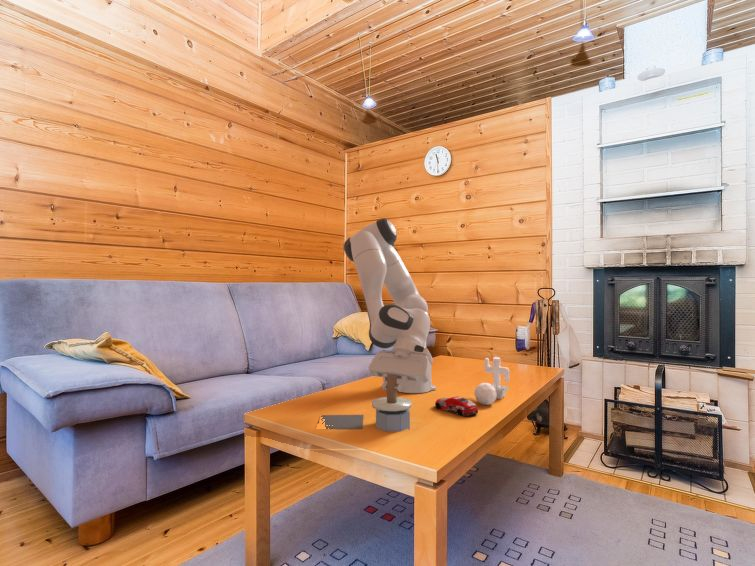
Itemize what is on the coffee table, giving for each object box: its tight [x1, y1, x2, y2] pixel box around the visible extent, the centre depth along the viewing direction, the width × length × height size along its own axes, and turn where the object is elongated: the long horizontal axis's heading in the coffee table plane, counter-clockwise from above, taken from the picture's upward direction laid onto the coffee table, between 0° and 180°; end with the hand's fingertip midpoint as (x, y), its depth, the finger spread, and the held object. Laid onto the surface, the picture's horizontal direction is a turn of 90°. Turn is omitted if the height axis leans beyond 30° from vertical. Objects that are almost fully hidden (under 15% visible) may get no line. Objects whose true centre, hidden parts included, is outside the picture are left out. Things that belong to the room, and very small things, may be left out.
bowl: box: [375, 408, 411, 432], centre depth 129 cm, size 10×10×5 cm
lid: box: [371, 375, 413, 411], centre depth 129 cm, size 12×12×9 cm
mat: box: [321, 414, 364, 430], centre depth 133 cm, size 14×14×1 cm
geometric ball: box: [473, 382, 497, 406], centre depth 154 cm, size 8×8×8 cm
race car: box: [434, 396, 479, 417], centre depth 146 cm, size 16×7×5 cm, turn 37°
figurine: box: [483, 356, 510, 400], centre depth 164 cm, size 7×9×15 cm
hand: (390, 389), depth 129 cm, fingers closed on lid, 3 cm apart
